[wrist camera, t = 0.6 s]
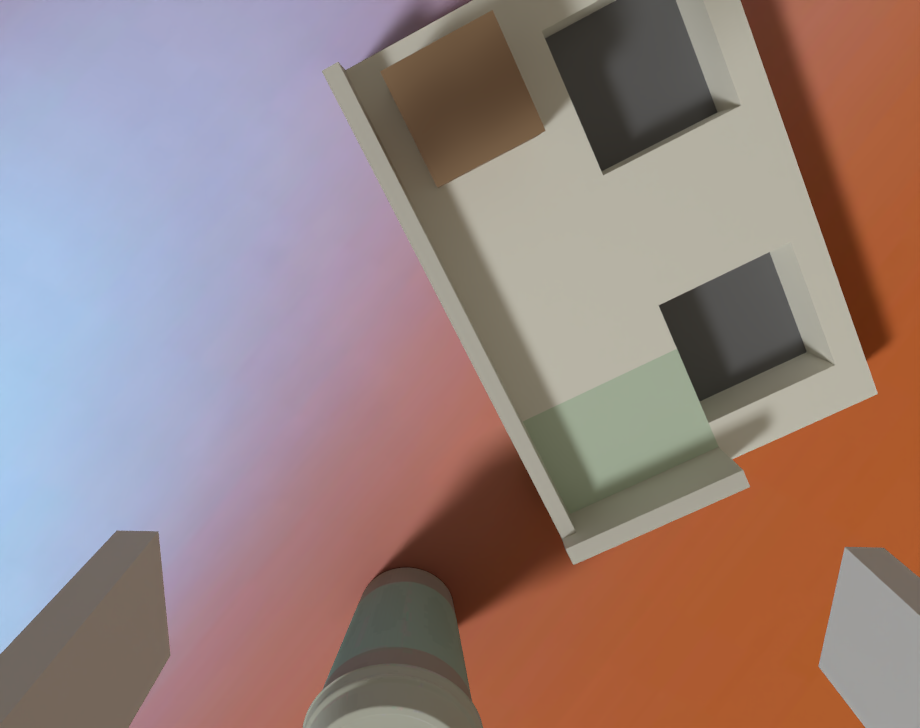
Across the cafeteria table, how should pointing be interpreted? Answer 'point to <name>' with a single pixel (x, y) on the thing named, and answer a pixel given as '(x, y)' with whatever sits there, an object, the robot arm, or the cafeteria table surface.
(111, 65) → the cafeteria table surface
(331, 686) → the coffee cup
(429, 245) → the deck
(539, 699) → the cafeteria table surface
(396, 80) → the block
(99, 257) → the cafeteria table surface
